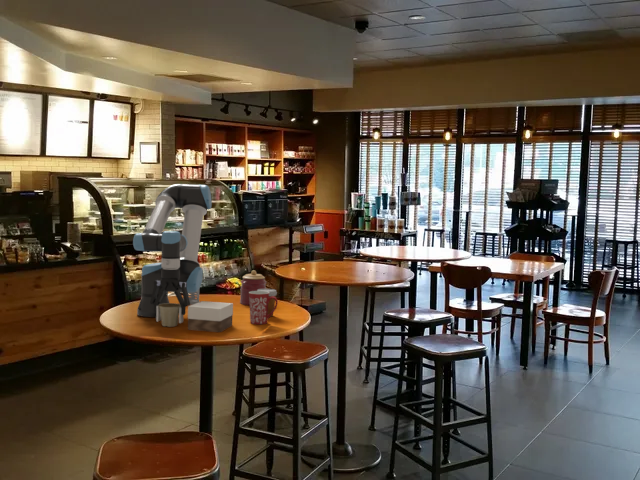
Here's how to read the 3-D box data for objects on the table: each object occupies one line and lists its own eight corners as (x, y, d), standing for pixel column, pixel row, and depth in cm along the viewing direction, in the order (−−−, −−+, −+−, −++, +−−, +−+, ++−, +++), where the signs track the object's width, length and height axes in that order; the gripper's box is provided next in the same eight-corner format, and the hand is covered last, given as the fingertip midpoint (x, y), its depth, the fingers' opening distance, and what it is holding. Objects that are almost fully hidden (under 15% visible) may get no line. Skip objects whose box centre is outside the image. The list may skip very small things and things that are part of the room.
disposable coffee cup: (273, 318, 287) (273, 292, 286) (253, 317, 289) (253, 290, 288) (278, 314, 297) (279, 289, 296) (259, 313, 298) (259, 288, 298)
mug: (245, 324, 273) (246, 293, 272) (250, 320, 282) (251, 290, 281) (274, 326, 271) (275, 294, 270) (278, 321, 280) (279, 291, 279)
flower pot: (186, 325, 267) (186, 305, 266) (169, 329, 259) (169, 308, 259) (170, 322, 272) (170, 302, 272) (153, 325, 264) (153, 305, 264)
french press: (199, 305, 314) (200, 255, 312) (175, 304, 314) (176, 254, 312) (203, 302, 324) (203, 253, 322) (180, 301, 324) (181, 252, 322)
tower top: (187, 318, 259) (187, 306, 258) (202, 312, 272) (202, 301, 272) (219, 321, 256) (220, 309, 255) (232, 315, 269) (233, 303, 269)
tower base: (187, 330, 259) (188, 318, 259) (201, 324, 273) (201, 312, 272) (220, 333, 256) (220, 321, 256) (232, 326, 270) (232, 314, 270)
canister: (262, 308, 313) (262, 272, 311) (236, 306, 315) (237, 271, 313) (268, 303, 325) (269, 269, 324) (244, 302, 328) (245, 268, 326)
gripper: (141, 268, 262) (141, 321, 264) (192, 270, 258) (191, 325, 260) (150, 266, 270) (149, 318, 271) (199, 268, 265) (198, 321, 267)
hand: (169, 321), depth 266 cm, fingers closed on flower pot, 9 cm apart
